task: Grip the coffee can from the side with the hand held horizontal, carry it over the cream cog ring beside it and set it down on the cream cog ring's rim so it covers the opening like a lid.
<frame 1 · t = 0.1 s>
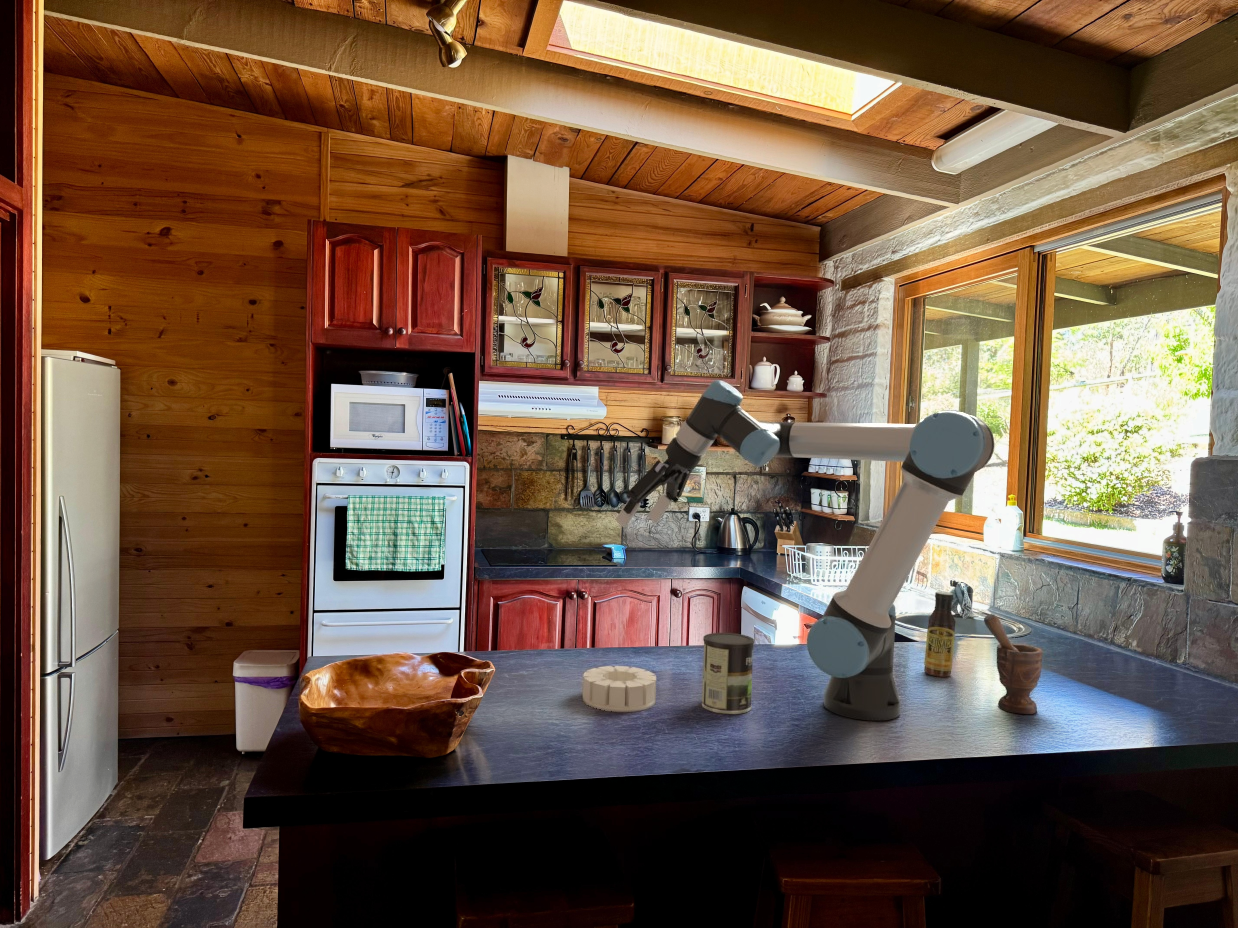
hand: (636, 521, 182), 36 cm above the counter, tool tilted 35°, fingers open, 13 cm apart
sauce bottle: (938, 675, 197), on the counter
cream cog ring: (619, 699, 169), on the counter
coffee can: (725, 707, 168), on the counter
mortar and pestle: (1010, 710, 172), on the counter
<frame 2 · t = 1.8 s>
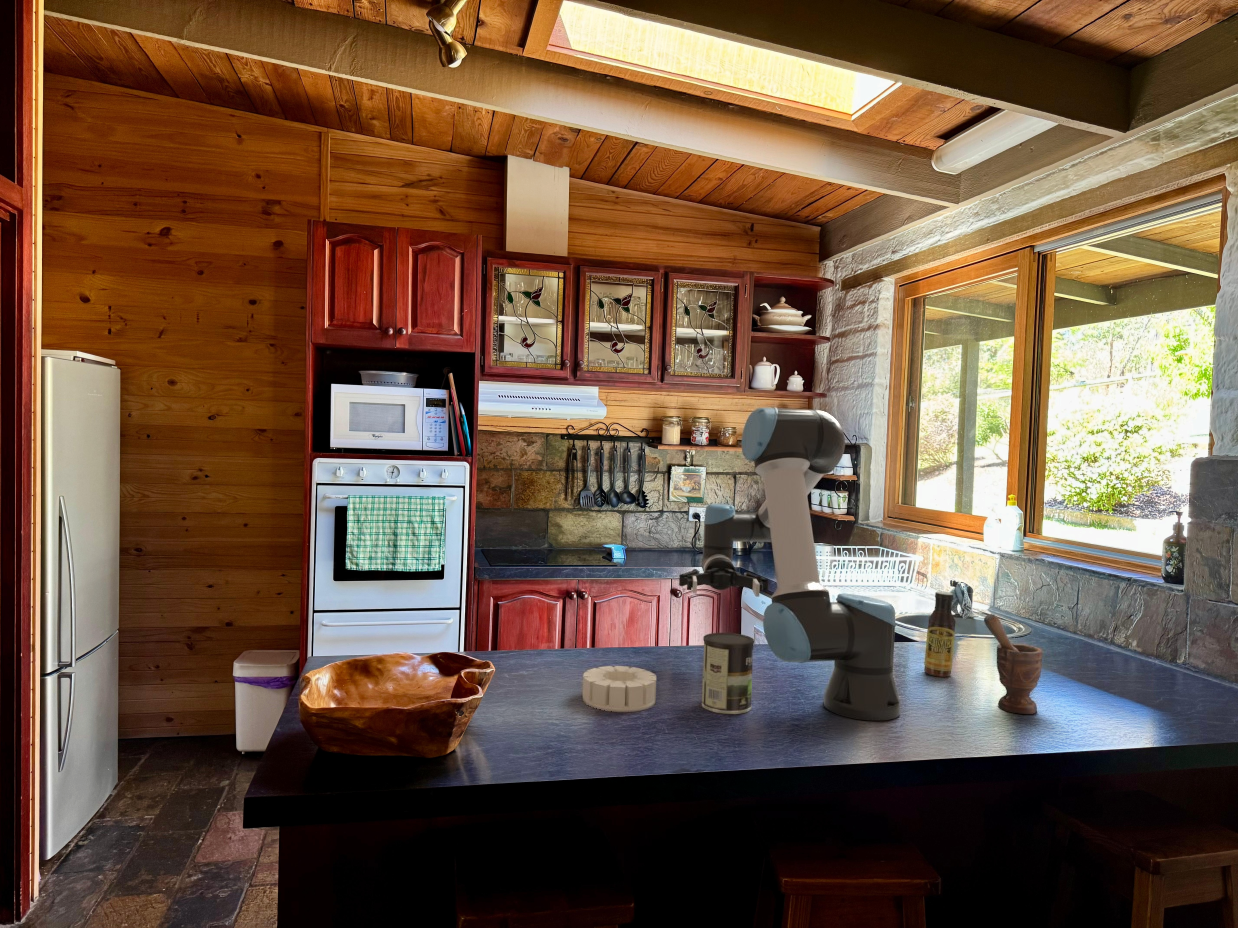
hand: (726, 588, 179), 22 cm above the counter, tool horizontal, fingers open, 13 cm apart
nothing on the counter moved.
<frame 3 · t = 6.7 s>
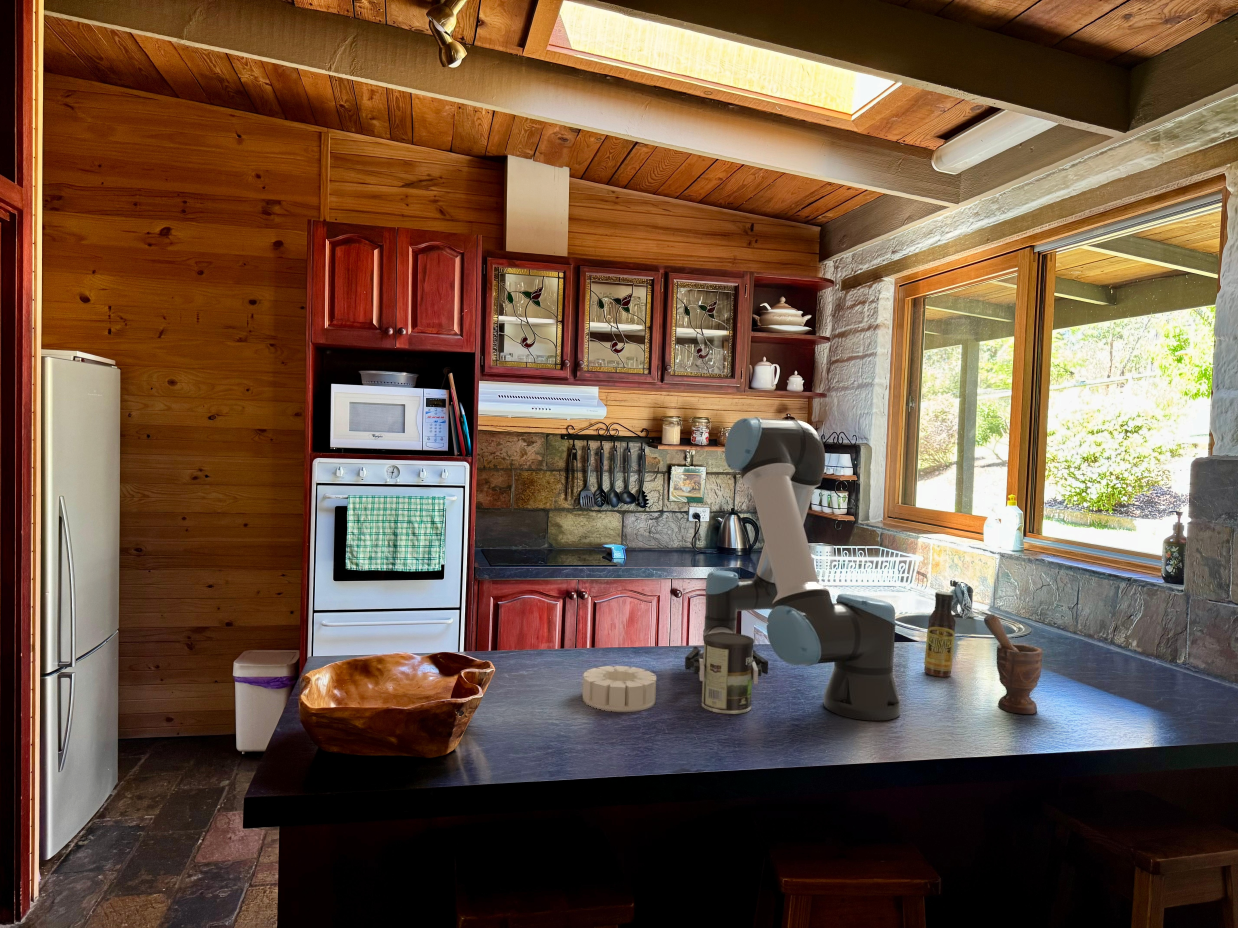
hand: (729, 675, 163), 8 cm above the counter, tool horizontal, fingers closed on coffee can, 10 cm apart
coffee can: (725, 706, 168), on the counter, touching gripper
everything else where it was.
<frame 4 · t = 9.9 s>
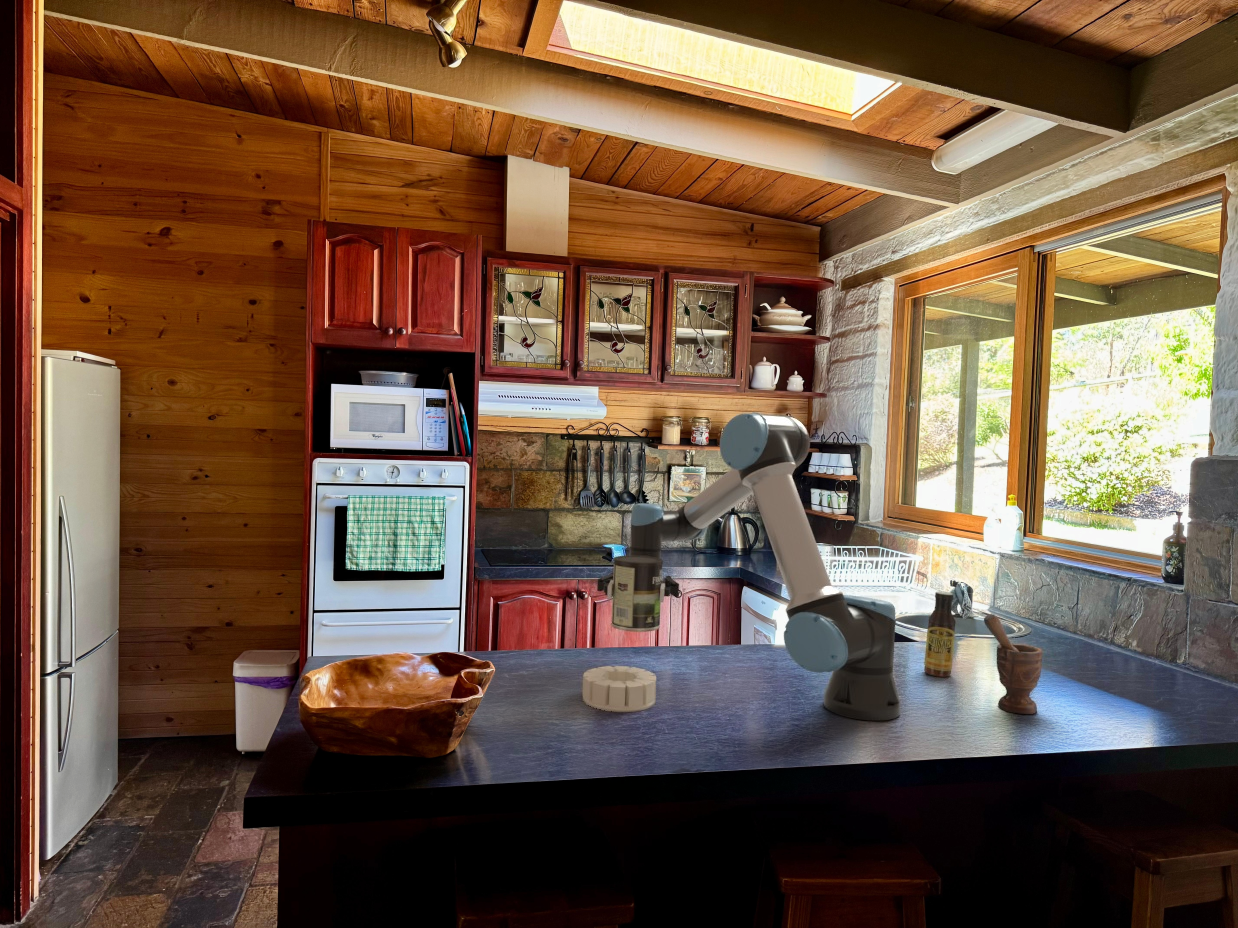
hand: (635, 594, 166), 23 cm above the counter, tool horizontal, fingers closed on coffee can, 10 cm apart
coffee can: (635, 626, 170), point 15 cm above the counter, touching gripper
everything else where it was.
when the fingers open (14 cm above the counter, at t = 13.0 s): coffee can drops 1 cm, resting on cream cog ring.
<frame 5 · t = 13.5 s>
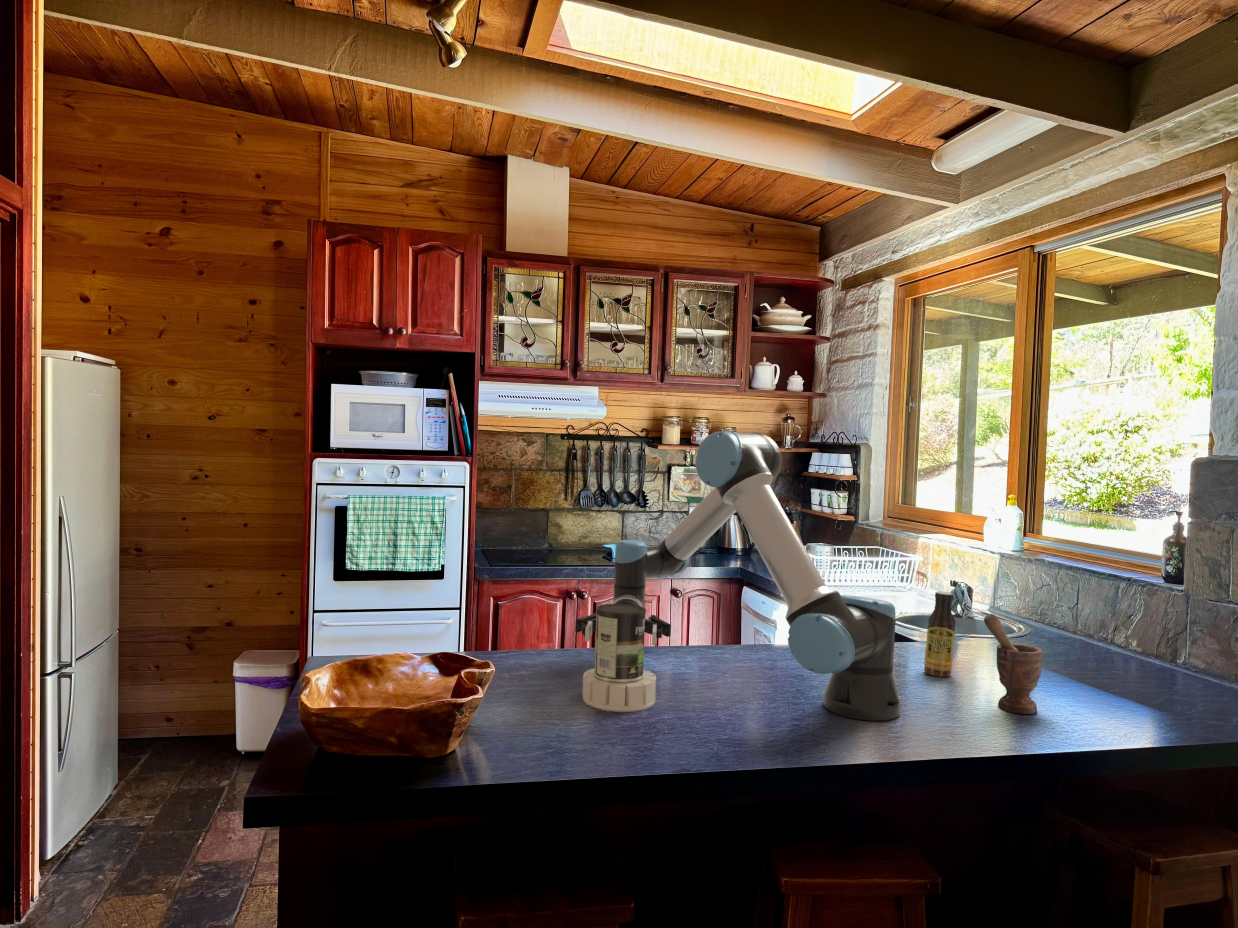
hand: (620, 636, 166), 14 cm above the counter, tool horizontal, fingers open, 13 cm apart
coffee can: (618, 676, 169), point 5 cm above the counter, touching cream cog ring
everything else where it was.
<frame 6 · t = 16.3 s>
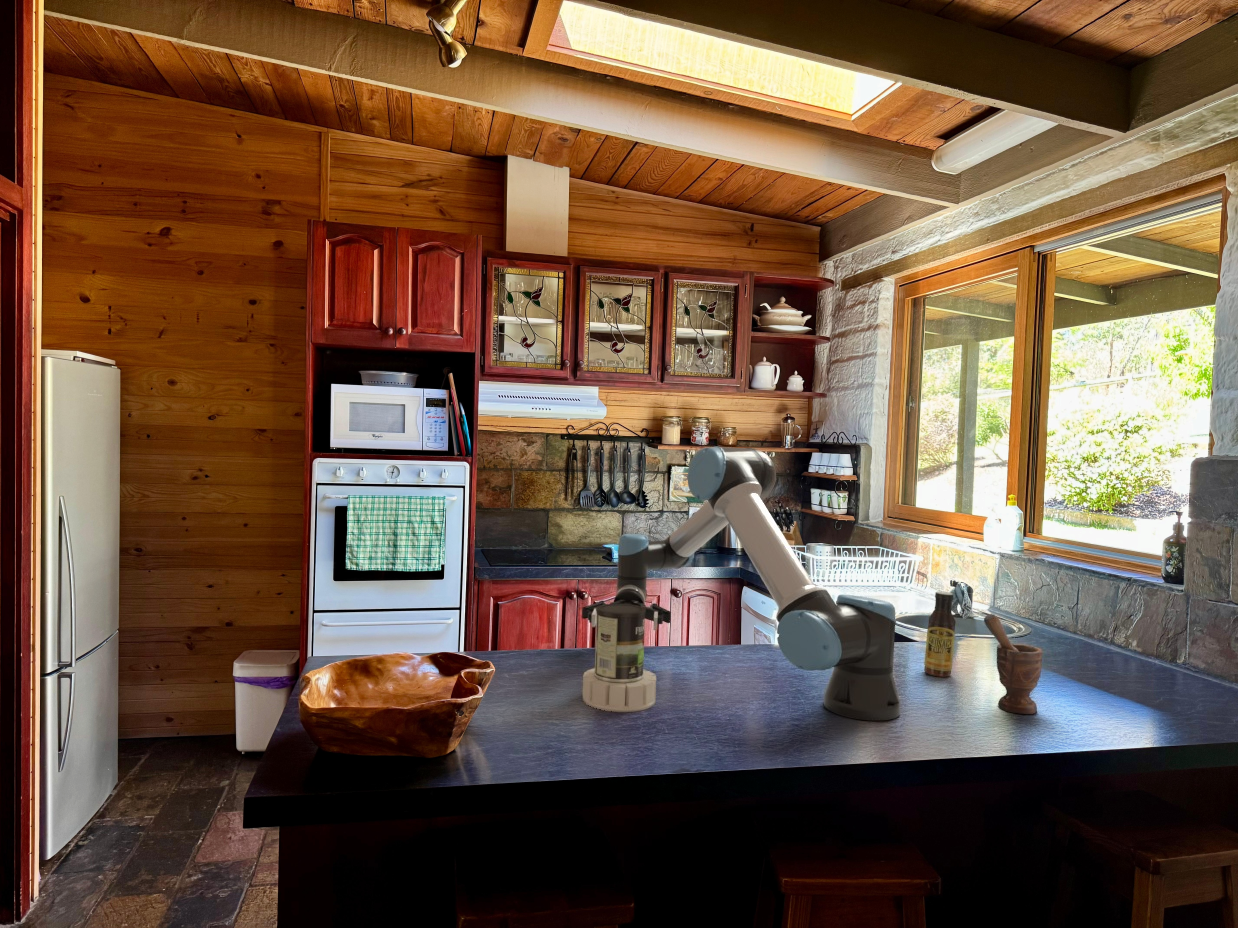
hand: (624, 622, 179), 14 cm above the counter, tool horizontal, fingers open, 13 cm apart
nothing on the counter moved.
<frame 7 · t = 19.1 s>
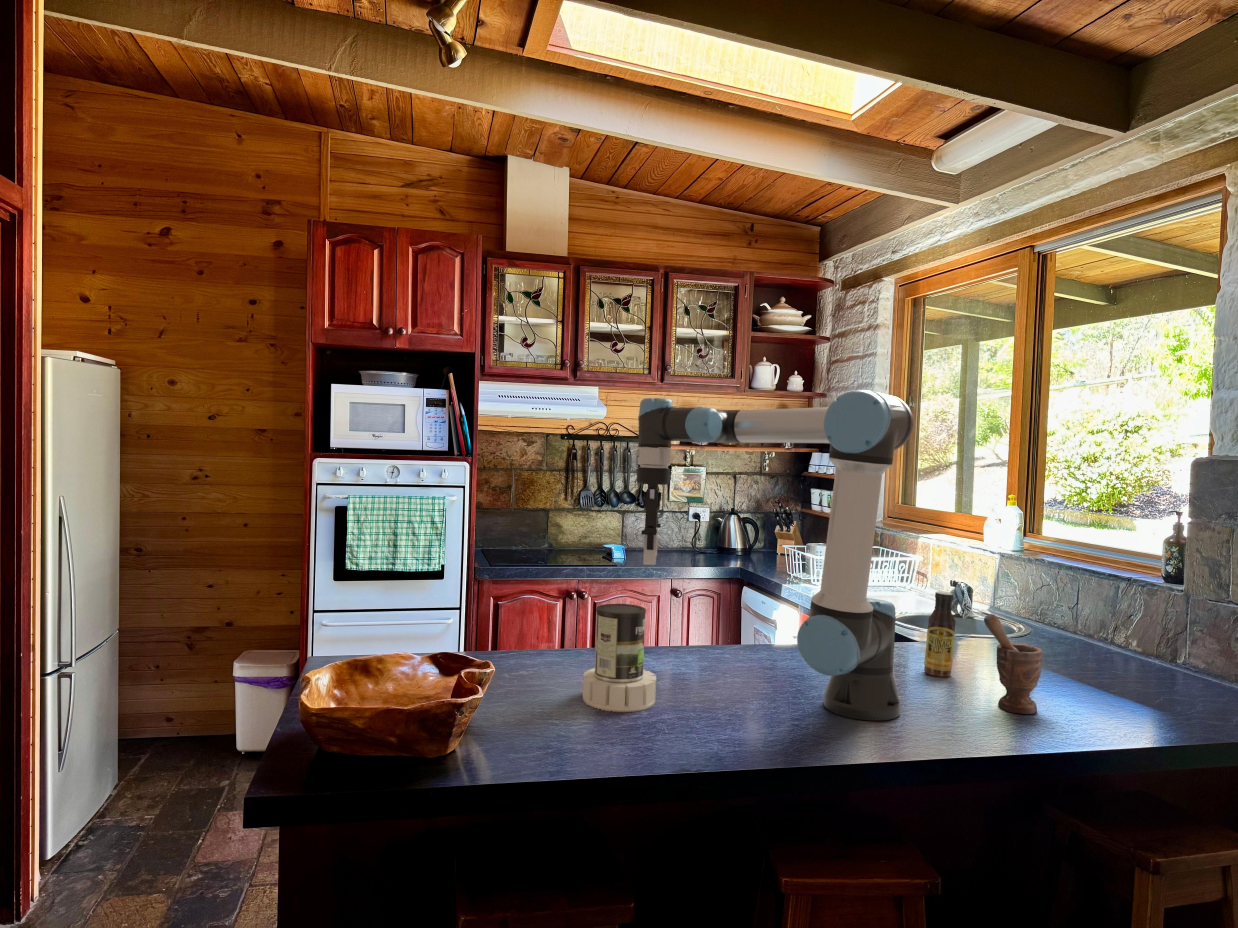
hand: (650, 560, 186), 27 cm above the counter, tool pointing down, fingers open, 13 cm apart
nothing on the counter moved.
at the end: coffee can 0.3 cm off-centre on the cream cog ring, point 4.8 cm above the cream cog ring's base; coffee can tilted 0°; the gripper is holding nothing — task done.
